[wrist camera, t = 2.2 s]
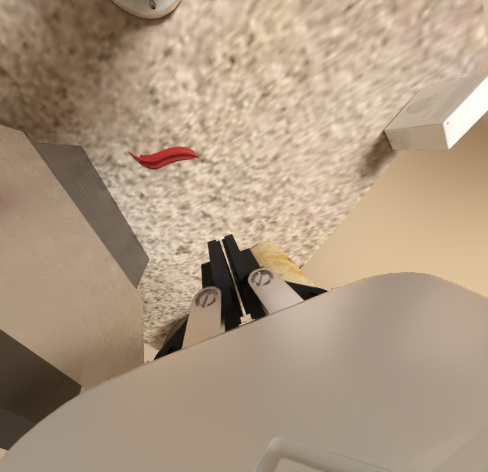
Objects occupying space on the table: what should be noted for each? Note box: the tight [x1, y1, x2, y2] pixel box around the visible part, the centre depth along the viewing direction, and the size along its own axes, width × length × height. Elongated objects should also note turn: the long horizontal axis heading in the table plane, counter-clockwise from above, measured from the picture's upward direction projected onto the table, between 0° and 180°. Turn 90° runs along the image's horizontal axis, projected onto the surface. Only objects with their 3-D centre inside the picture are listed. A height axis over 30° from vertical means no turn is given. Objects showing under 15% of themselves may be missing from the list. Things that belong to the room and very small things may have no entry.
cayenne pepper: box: [129, 147, 199, 168], centre depth 30 cm, size 12×5×2 cm, turn 77°
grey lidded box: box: [31, 143, 149, 289], centre depth 26 cm, size 26×16×12 cm, turn 13°
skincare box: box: [384, 70, 488, 150], centre depth 34 cm, size 10×6×10 cm, turn 139°
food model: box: [250, 242, 315, 287], centre depth 35 cm, size 10×7×20 cm
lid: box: [0, 125, 144, 450], centre depth 14 cm, size 23×19×1 cm
